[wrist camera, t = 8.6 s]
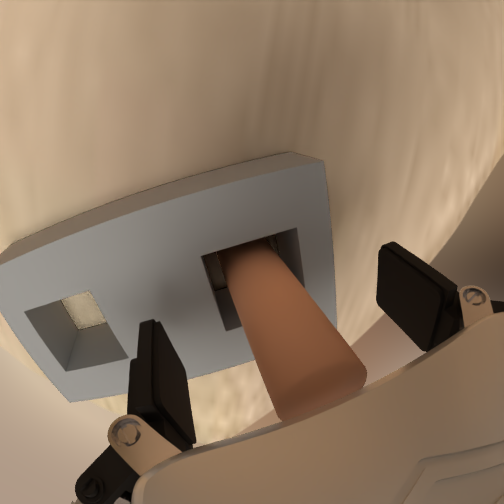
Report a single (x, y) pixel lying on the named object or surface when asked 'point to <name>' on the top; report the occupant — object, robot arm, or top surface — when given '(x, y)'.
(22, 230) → the top surface
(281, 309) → the peg
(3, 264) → the socket block
